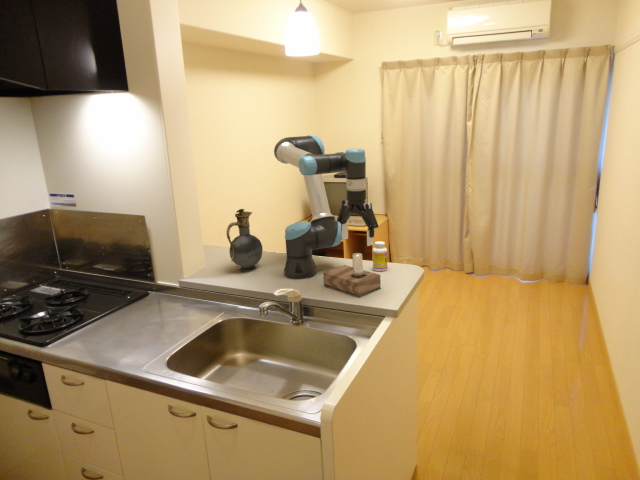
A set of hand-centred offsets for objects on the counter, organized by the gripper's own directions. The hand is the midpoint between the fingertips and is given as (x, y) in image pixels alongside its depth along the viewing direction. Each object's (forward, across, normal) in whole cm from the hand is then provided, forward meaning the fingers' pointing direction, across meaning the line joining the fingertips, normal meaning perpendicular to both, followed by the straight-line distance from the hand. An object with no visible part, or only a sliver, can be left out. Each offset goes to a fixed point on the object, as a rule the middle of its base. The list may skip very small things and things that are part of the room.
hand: (357, 242), depth 181 cm
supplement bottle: (+20, -10, +25) cm, 34 cm away
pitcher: (+21, -58, -17) cm, 64 cm away
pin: (+19, 0, 0) cm, 19 cm away
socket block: (+20, -4, 0) cm, 21 cm away
